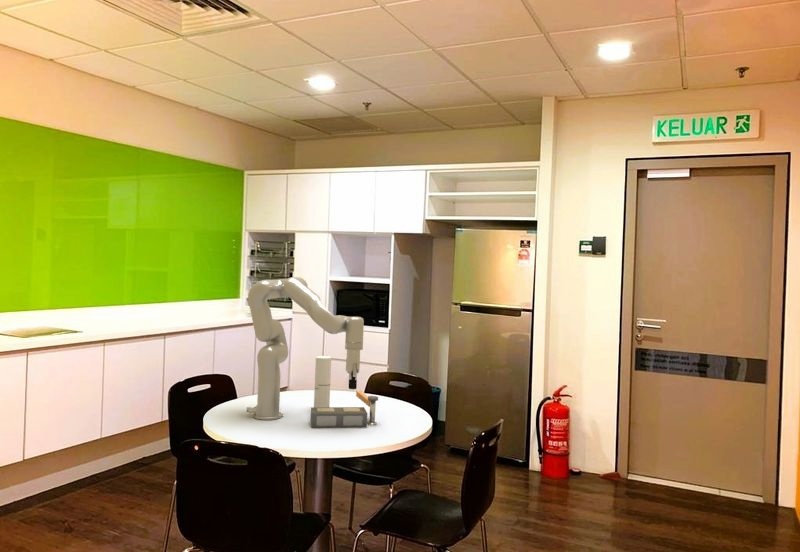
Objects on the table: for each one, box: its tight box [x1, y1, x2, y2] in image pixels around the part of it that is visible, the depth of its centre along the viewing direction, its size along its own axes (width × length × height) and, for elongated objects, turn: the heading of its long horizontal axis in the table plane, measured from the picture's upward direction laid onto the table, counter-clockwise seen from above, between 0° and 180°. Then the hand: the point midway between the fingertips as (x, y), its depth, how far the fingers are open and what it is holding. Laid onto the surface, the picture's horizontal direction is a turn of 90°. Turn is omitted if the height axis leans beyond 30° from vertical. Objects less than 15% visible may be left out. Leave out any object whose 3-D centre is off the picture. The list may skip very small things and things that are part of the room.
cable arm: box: [355, 390, 379, 408], centre depth 270 cm, size 26×4×5 cm, turn 19°
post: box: [367, 401, 378, 426], centre depth 259 cm, size 4×4×10 cm
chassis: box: [310, 406, 368, 429], centre depth 256 cm, size 23×11×6 cm, turn 101°
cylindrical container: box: [313, 355, 332, 407], centre depth 279 cm, size 7×7×25 cm
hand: (352, 388), depth 257 cm, fingers closed
